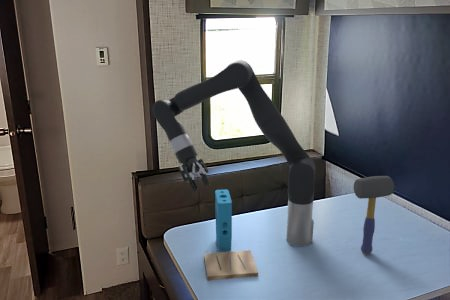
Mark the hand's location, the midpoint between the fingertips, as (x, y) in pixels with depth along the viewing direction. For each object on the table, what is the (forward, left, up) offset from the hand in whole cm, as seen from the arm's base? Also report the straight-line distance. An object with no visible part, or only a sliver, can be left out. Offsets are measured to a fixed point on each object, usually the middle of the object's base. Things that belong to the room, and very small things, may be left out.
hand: (202, 187), depth 161 cm
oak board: (-8, +19, -22) cm, 30 cm away
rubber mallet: (-58, +17, -22) cm, 65 cm away
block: (-7, +4, -22) cm, 24 cm away
